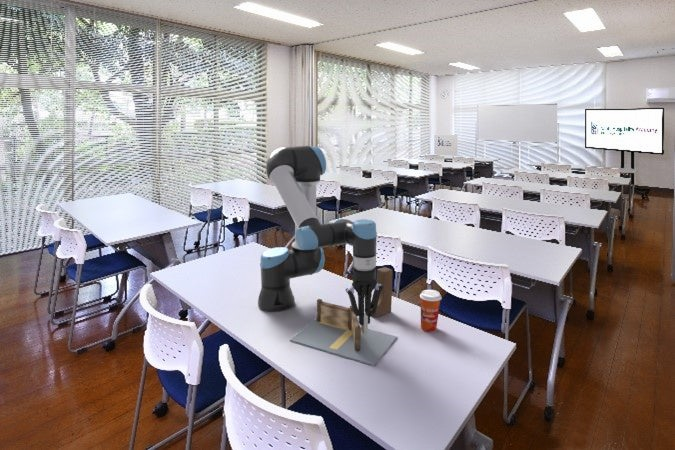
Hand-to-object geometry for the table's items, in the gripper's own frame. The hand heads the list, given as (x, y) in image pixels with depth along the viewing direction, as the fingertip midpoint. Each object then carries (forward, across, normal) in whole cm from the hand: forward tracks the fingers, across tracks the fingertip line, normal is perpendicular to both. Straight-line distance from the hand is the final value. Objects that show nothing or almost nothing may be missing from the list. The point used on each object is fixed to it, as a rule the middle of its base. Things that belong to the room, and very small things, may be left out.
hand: (364, 332), depth 141 cm
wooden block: (+5, +15, +20) cm, 26 cm away
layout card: (+5, -5, +6) cm, 9 cm away
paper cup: (+5, +27, +3) cm, 28 cm away
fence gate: (+4, -2, +2) cm, 5 cm away
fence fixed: (+4, -5, +15) cm, 17 cm away
